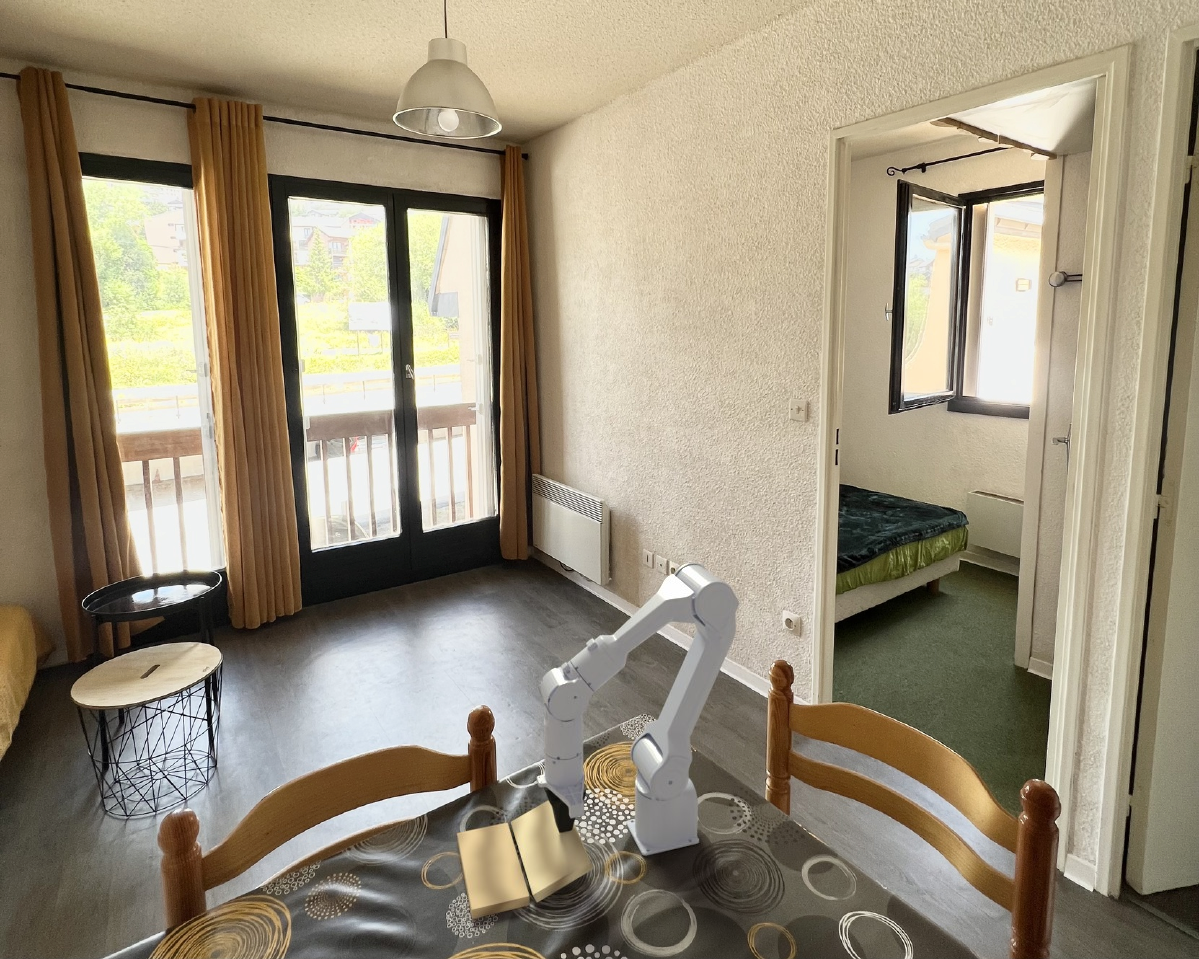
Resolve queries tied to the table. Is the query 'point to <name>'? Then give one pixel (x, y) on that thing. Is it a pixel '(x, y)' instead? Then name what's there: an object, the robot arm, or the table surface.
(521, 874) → the laid oak board
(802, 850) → the table surface
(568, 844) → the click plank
